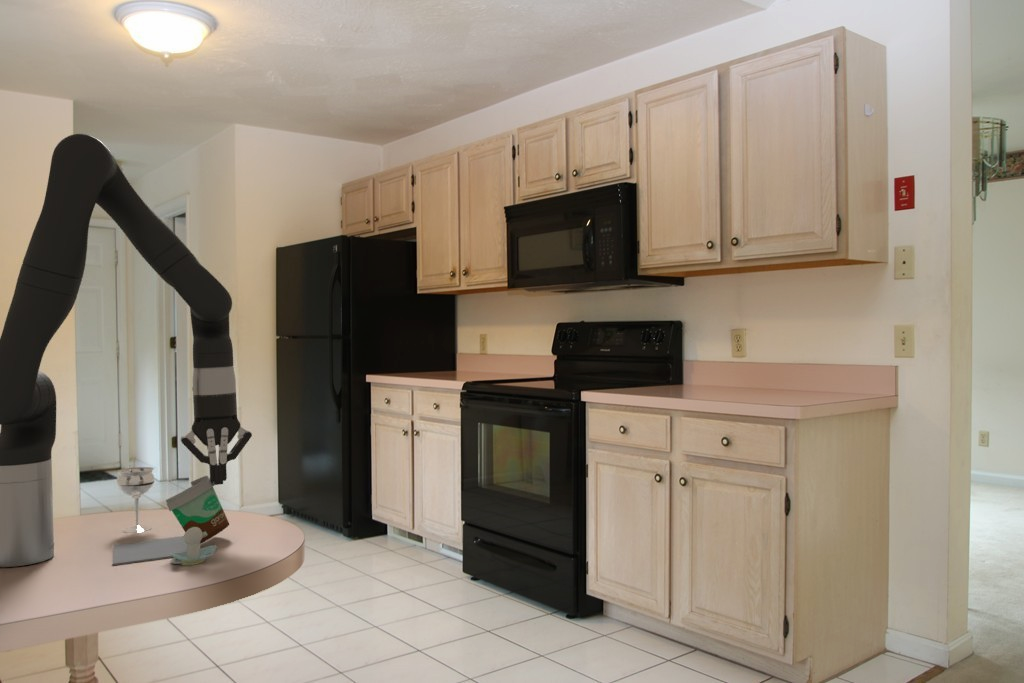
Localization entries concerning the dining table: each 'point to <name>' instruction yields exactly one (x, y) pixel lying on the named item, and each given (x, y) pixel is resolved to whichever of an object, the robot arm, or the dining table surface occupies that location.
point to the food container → (199, 508)
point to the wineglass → (136, 488)
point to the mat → (148, 550)
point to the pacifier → (193, 549)
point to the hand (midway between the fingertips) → (218, 483)
